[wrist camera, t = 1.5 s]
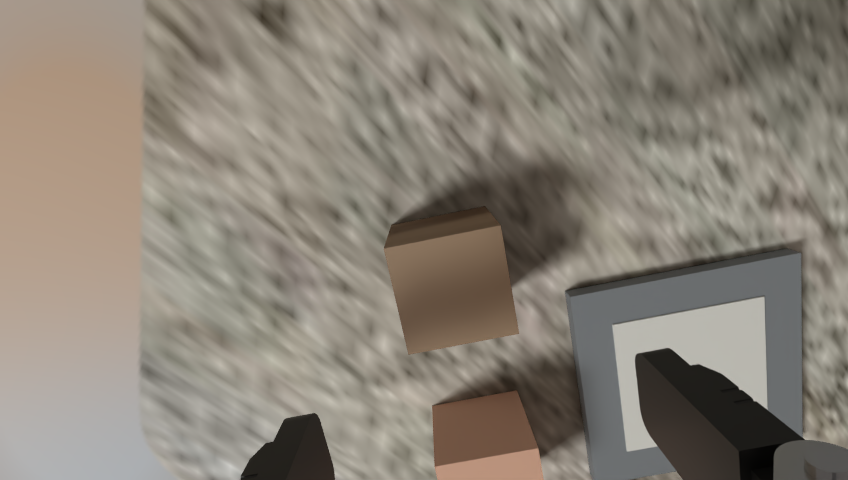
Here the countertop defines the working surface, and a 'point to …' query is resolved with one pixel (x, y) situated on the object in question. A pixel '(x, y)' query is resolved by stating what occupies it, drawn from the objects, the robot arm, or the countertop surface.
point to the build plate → (685, 347)
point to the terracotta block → (485, 440)
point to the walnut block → (451, 280)
